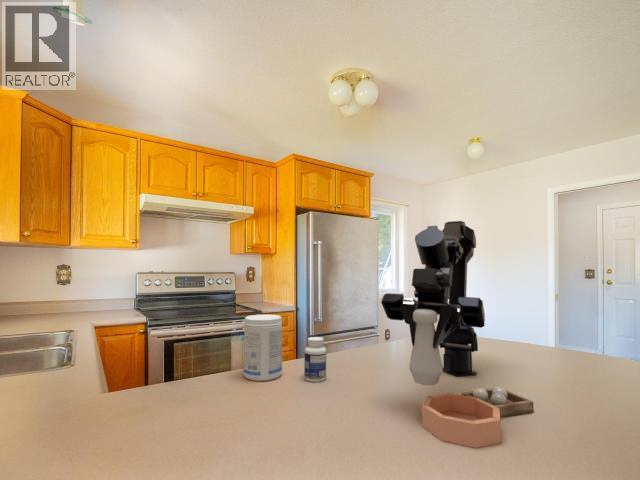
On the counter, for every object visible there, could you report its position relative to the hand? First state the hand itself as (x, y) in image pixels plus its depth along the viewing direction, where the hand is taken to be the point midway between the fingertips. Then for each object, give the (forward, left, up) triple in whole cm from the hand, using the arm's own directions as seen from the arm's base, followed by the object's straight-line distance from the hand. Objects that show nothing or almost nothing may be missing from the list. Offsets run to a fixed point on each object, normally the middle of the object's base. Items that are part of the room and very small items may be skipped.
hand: (423, 346), depth 61 cm
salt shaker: (-1, -1, -7) cm, 7 cm away
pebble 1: (-15, -3, -11) cm, 19 cm away
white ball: (-20, -3, -11) cm, 23 cm away
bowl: (-5, +3, -13) cm, 15 cm away
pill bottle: (+11, -29, -13) cm, 34 cm away
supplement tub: (+23, -35, -14) cm, 44 cm away
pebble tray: (-18, -2, -13) cm, 22 cm away
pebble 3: (-17, 0, -11) cm, 20 cm away
